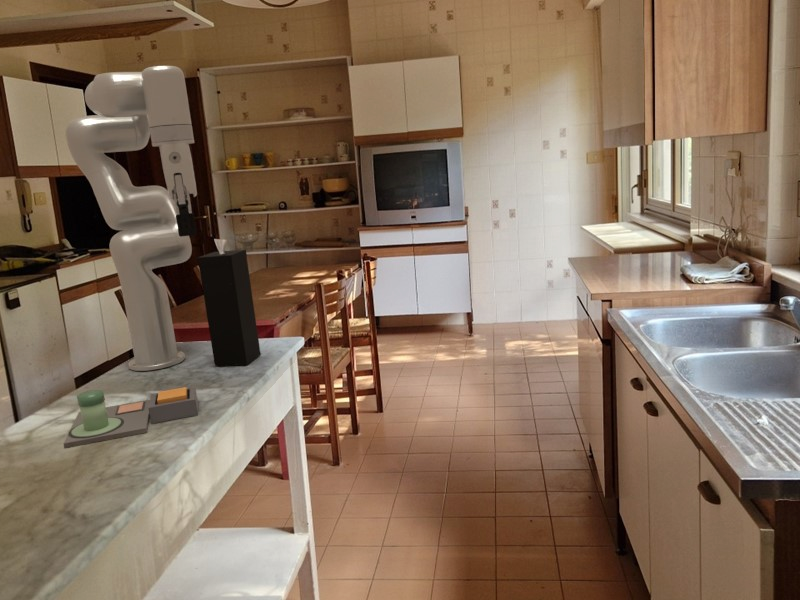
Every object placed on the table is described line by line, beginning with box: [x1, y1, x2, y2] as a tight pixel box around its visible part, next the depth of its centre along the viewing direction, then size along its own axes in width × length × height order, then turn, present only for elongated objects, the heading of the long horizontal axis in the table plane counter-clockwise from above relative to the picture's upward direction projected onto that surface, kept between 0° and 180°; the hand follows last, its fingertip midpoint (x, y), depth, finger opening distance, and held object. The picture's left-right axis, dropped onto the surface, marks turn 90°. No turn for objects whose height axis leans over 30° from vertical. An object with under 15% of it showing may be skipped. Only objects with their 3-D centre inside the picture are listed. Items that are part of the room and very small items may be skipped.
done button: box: [157, 386, 188, 404], centre depth 125 cm, size 5×5×2 cm
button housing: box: [148, 386, 199, 425], centre depth 125 cm, size 8×8×3 cm
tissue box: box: [197, 238, 261, 367], centre depth 153 cm, size 8×8×28 cm
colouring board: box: [63, 399, 150, 449], centre depth 123 cm, size 16×13×1 cm
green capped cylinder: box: [76, 389, 109, 431], centre depth 119 cm, size 4×4×6 cm
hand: (187, 235), depth 130 cm, fingers closed
